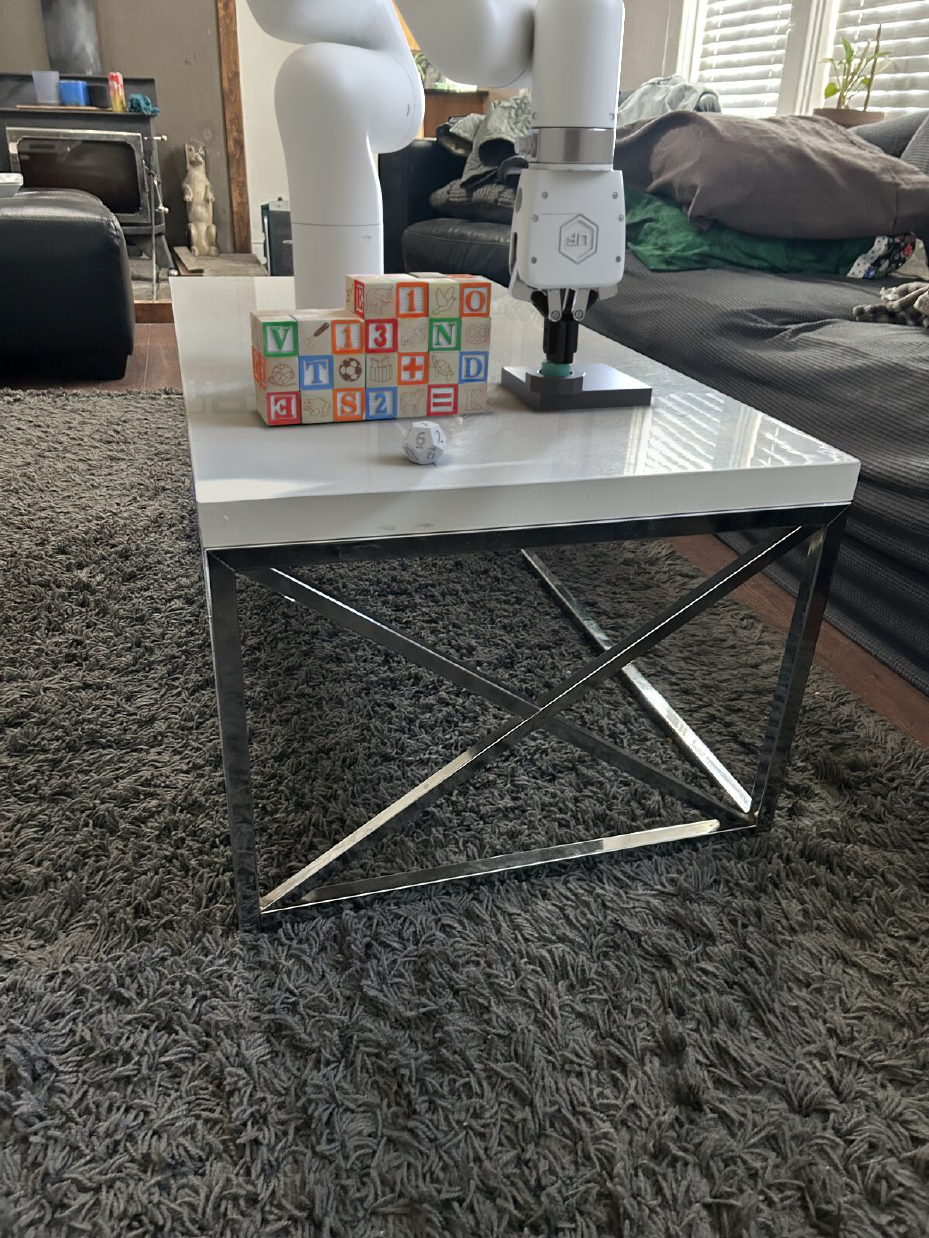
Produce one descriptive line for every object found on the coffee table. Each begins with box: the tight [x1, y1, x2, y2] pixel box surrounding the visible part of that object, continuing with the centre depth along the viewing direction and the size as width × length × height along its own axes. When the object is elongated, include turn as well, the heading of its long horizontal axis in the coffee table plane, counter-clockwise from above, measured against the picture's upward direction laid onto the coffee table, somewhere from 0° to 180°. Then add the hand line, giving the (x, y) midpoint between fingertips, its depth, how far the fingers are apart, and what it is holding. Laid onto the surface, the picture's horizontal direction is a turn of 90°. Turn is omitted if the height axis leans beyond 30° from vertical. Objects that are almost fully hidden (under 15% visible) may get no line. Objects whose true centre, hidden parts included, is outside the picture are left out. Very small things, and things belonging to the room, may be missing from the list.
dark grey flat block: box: [500, 362, 653, 412], centre depth 99 cm, size 13×13×4 cm
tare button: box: [541, 358, 570, 376], centre depth 94 cm, size 3×3×2 cm
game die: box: [401, 420, 448, 465], centre depth 78 cm, size 4×4×3 cm
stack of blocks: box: [249, 272, 492, 426], centre depth 89 cm, size 21×6×12 cm, turn 110°
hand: (559, 361), depth 93 cm, fingers closed
